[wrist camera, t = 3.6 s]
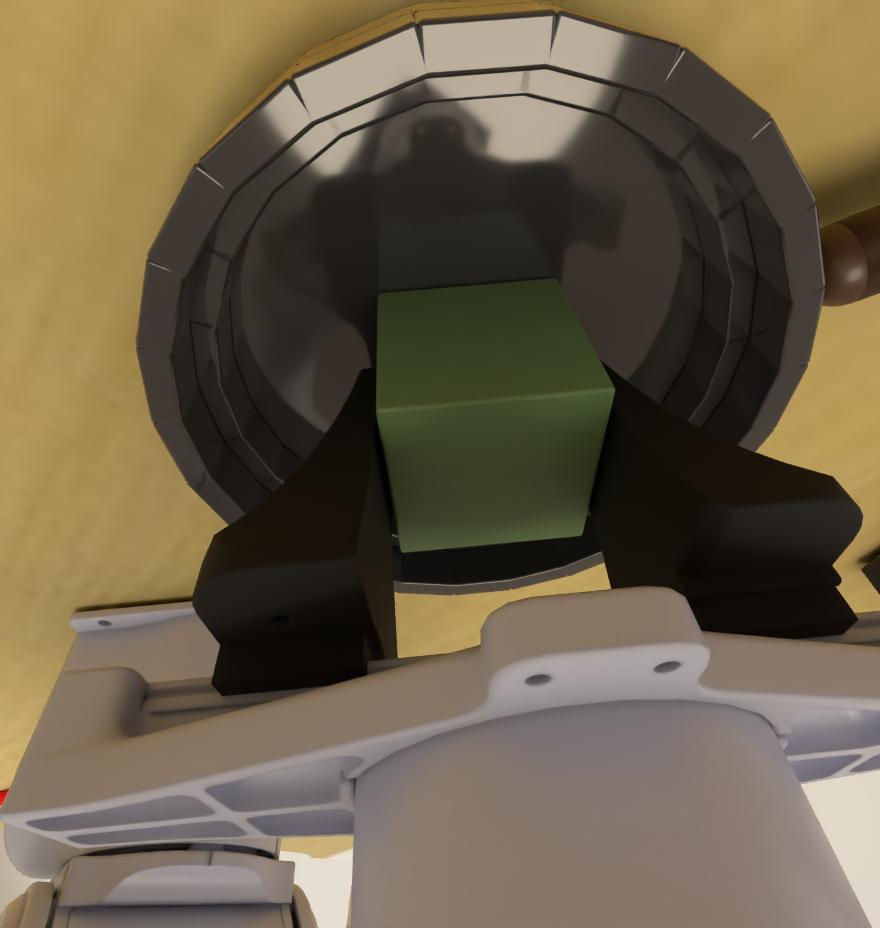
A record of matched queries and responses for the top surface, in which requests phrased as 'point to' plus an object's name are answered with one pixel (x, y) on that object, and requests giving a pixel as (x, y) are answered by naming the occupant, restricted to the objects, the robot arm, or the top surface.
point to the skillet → (476, 243)
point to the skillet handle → (851, 258)
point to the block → (488, 413)
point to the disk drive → (873, 573)
